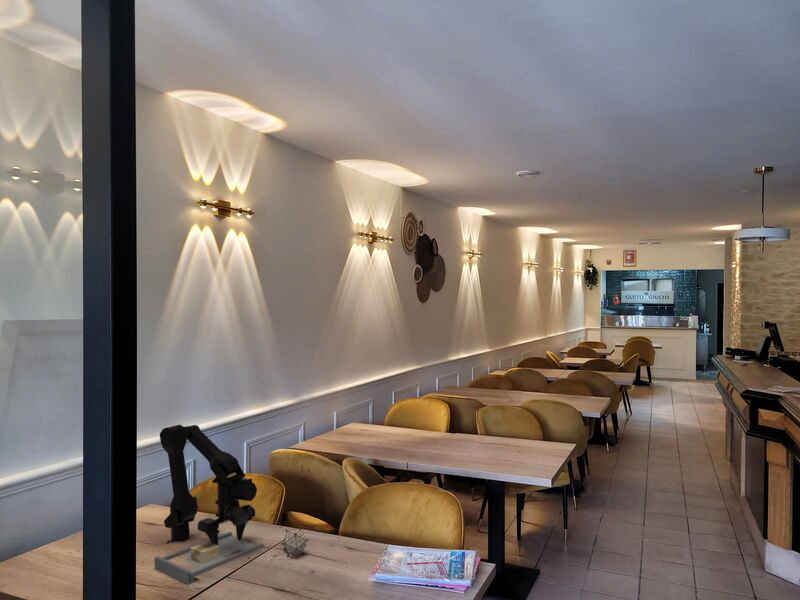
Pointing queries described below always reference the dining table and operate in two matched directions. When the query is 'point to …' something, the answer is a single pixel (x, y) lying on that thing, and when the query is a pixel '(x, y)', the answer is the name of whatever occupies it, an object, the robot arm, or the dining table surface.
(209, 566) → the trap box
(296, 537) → the wire geodesic ornament
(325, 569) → the dining table surface
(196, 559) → the maple block
